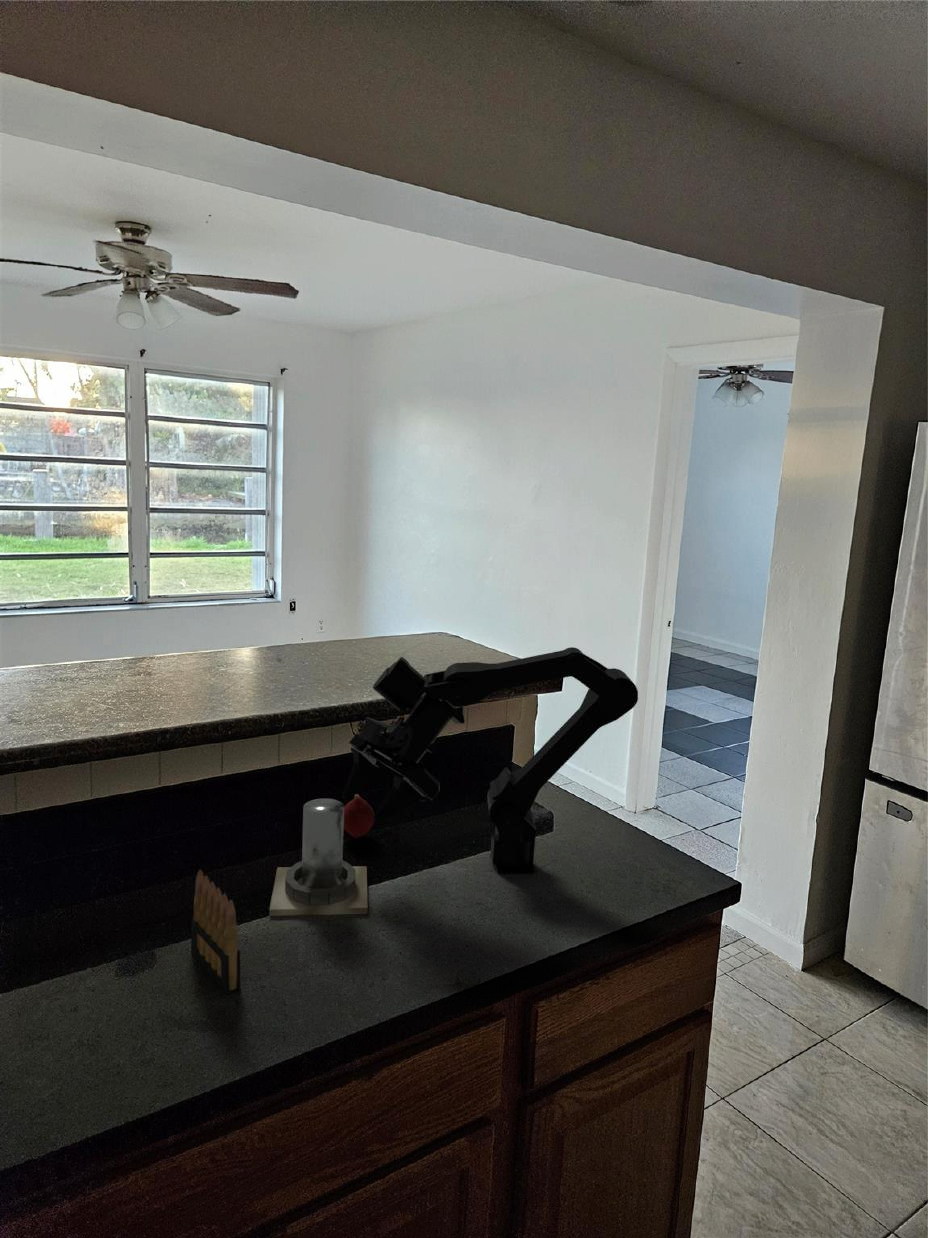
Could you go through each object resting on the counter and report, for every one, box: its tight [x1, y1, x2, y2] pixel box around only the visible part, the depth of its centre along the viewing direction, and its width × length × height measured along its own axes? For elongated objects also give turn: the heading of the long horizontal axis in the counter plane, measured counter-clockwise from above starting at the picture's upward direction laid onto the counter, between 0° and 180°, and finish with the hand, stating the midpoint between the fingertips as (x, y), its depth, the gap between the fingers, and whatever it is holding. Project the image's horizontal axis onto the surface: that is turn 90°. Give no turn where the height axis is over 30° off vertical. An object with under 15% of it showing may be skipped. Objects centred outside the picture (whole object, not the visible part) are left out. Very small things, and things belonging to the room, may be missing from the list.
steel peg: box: [301, 798, 345, 889], centre depth 118 cm, size 6×6×13 cm
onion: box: [343, 793, 375, 839], centre depth 137 cm, size 6×6×8 cm
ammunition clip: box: [190, 869, 241, 995], centre depth 99 cm, size 11×2×12 cm, turn 42°
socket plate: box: [268, 860, 368, 917], centre depth 119 cm, size 14×12×3 cm
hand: (359, 808), depth 121 cm, fingers open, 9 cm apart
